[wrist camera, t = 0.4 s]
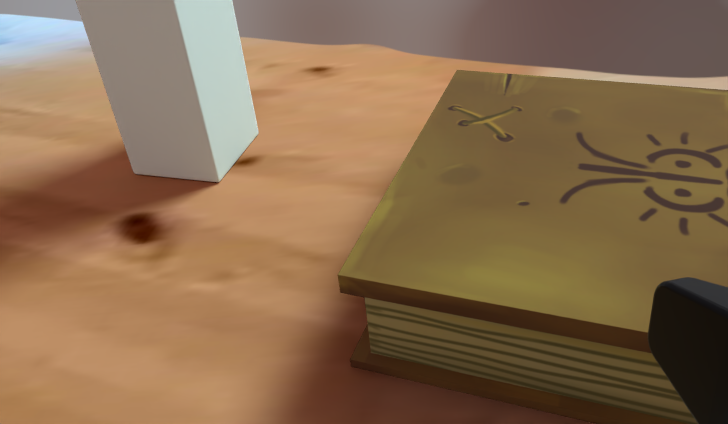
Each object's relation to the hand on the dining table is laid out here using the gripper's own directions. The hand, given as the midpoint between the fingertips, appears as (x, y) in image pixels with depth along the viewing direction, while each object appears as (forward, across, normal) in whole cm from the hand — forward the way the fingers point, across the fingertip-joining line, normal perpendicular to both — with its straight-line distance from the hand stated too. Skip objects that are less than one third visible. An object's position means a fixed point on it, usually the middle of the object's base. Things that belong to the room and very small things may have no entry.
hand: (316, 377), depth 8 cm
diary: (+17, -18, +12) cm, 28 cm away
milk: (+36, +1, +10) cm, 38 cm away
